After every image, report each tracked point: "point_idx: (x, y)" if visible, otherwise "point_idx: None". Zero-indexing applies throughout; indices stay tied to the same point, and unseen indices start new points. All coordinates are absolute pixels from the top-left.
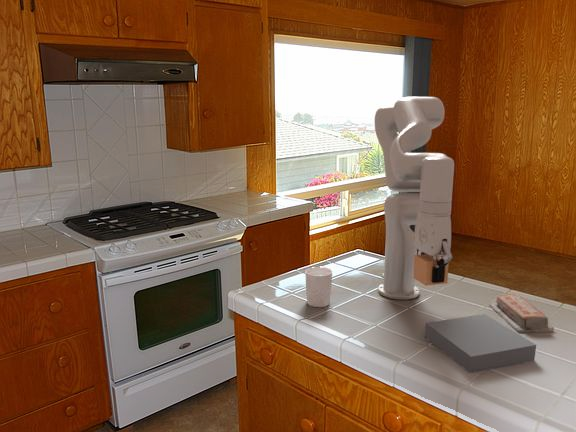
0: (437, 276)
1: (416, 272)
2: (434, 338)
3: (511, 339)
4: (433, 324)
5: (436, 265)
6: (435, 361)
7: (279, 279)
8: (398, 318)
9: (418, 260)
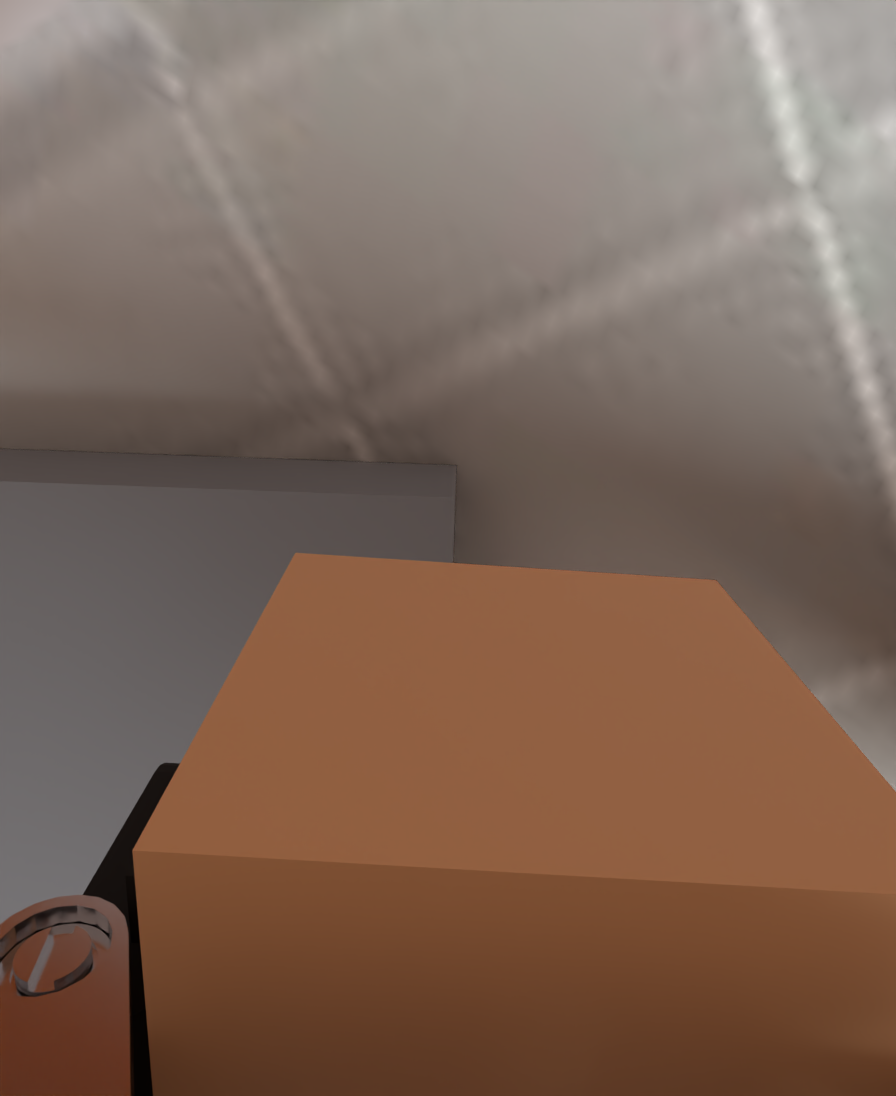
0: (146, 796)
1: (650, 630)
2: (324, 473)
3: (38, 881)
4: (406, 540)
5: (9, 961)
6: (106, 318)
7: None
8: (825, 458)
9: (674, 808)
